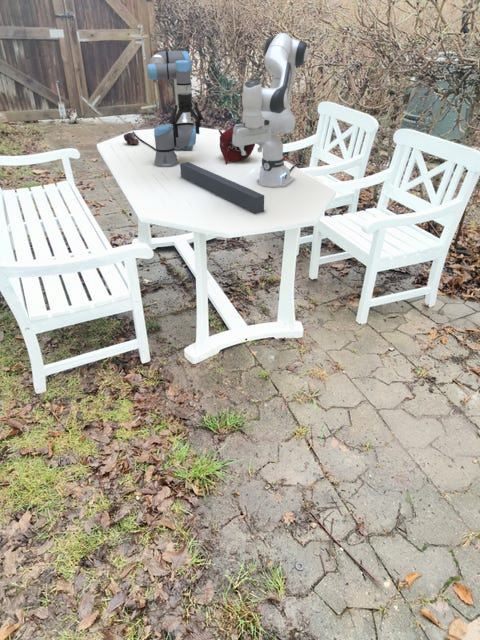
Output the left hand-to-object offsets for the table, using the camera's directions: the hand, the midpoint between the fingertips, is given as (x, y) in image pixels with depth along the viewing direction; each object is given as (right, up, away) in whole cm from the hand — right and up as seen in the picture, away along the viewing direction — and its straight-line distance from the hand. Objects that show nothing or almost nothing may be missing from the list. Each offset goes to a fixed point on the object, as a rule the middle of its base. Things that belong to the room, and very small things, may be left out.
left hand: (187, 135), depth 253 cm
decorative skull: (+28, +4, +49) cm, 57 cm away
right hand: (+35, -26, -42) cm, 61 cm away
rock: (-52, +28, +85) cm, 104 cm away
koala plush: (-13, +21, +75) cm, 79 cm away
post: (+18, -34, -6) cm, 39 cm away
